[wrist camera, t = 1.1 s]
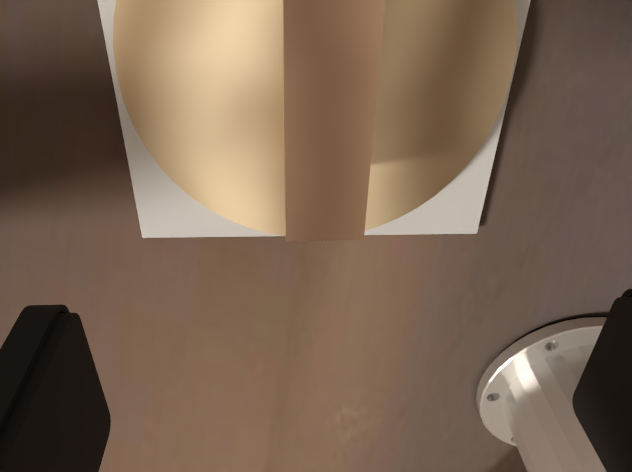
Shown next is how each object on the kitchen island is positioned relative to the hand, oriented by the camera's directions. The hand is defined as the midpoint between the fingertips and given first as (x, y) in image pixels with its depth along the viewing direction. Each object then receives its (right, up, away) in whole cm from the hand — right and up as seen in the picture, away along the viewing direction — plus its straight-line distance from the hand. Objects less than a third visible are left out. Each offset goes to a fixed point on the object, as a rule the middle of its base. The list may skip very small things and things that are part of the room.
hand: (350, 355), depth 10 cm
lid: (-1, +10, +14) cm, 17 cm away
